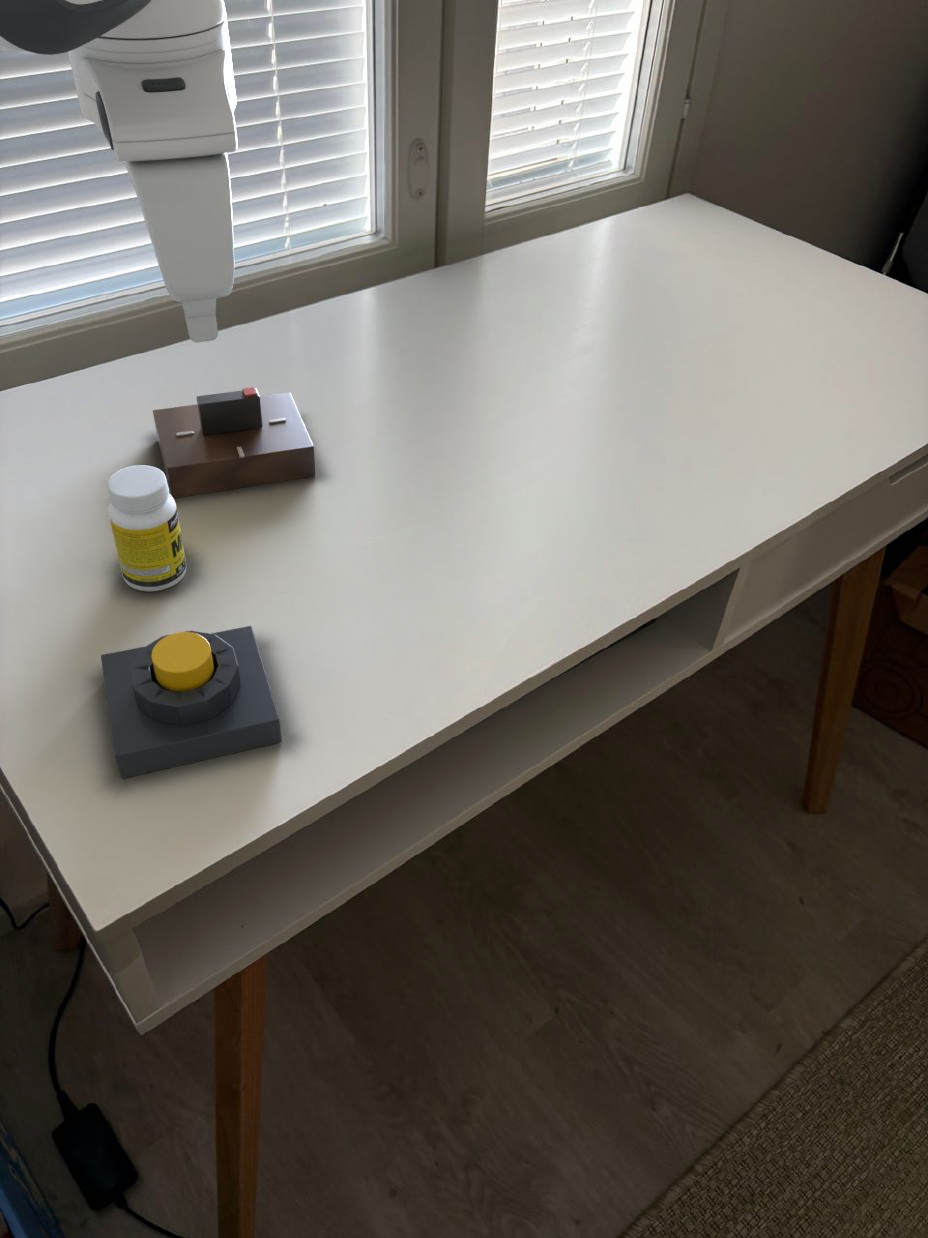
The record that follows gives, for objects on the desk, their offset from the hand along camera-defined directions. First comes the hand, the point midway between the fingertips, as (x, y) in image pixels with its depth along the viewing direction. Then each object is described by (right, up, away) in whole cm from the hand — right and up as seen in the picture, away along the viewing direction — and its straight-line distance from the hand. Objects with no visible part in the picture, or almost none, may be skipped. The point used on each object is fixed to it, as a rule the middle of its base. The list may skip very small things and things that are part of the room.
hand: (192, 302), depth 67 cm
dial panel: (-2, -7, +20) cm, 22 cm away
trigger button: (0, -24, -3) cm, 25 cm away
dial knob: (-2, -5, +18) cm, 19 cm away
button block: (0, -27, -1) cm, 27 cm away
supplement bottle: (-5, -18, +9) cm, 21 cm away
